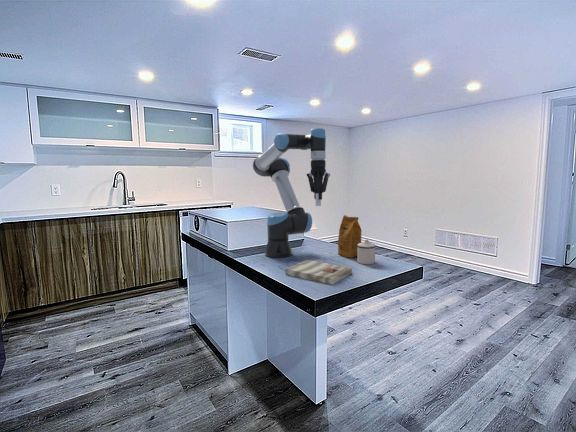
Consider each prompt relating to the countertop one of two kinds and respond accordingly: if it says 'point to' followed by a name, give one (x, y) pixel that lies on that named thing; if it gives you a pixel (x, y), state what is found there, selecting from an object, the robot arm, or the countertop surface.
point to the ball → (328, 270)
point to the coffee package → (349, 237)
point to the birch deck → (318, 271)
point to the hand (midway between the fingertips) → (318, 205)
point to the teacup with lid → (366, 252)
